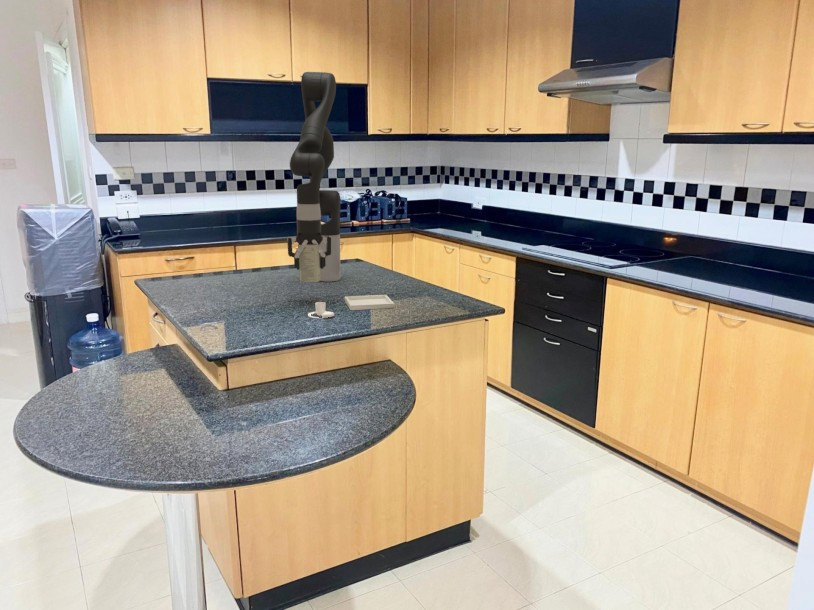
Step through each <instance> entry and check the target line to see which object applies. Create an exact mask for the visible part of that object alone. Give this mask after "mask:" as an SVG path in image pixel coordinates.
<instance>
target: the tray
mask: <svg viewBox="0 0 814 610" xmlns="http://www.w3.org/2000/svg"><path fill="white" fill-rule="evenodd" d="M344 302H345V304H346V305H347V307H348V309H349V310H350V311H361V310H362V311H363V310H366V311H367V310H382V309H383V310H384V309H387V310H388V309H395V303H394V302H393V300H392V299H391V298H390V297H389V296H388V295H387V294H371V295H351V296H344Z"/></svg>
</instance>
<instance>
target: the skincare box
mask: <svg viewBox="0 0 814 610" xmlns="http://www.w3.org/2000/svg"><path fill="white" fill-rule="evenodd" d="M300 246H301V245H299V244H298V243H297V248H298V249H299V248H300ZM319 246H320V244H319ZM301 249H302V248H301ZM298 258H299V270H298V271H299V272H298V273H299V274H298V275H299V281H300V282H306V283H307V282H310V283H318V282H321V281H320V280H321V279H322V278H321V255H320V253H319V251H318V245H317V244H316V245H314V244H308V245H305V247H304V249H303V251H302V252H301V253H300V255H299V256H298Z"/></svg>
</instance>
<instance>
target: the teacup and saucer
mask: <svg viewBox="0 0 814 610" xmlns="http://www.w3.org/2000/svg"><path fill="white" fill-rule="evenodd" d="M314 304H315V305H314V307H315V311H312V312H308V314H307V316H308V317H309V318H311V319H312V318H313V319H320V318H319V317H322V318H321V319H328V317H329V318H332V317H334V316H335V313H334V312H333V311H327V310H326V302H325V301H324V302H323V301H316V302H315V303H314ZM311 314H312V316H311ZM314 314H316V316H313V315H314Z"/></svg>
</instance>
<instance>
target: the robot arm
mask: <svg viewBox="0 0 814 610" xmlns="http://www.w3.org/2000/svg"><path fill="white" fill-rule="evenodd" d="M300 85H301V86H300V89H301V94H302V95H301V96H302V104H303V109H304V117H305V118H304V119H305V121H304V123H303V124H302V128H301V133H300V138H299V142H298V144H297V146H296V148H295V150H294V151H293V153H292V155H291V157H290V160H289V169H290V172H291V173H292V174H293V175H294V176H296V177H297V176H298V177H309V182H306V183H301V184H298V185H297V186H296V236H295V237H293V236H292V237H291V236H288V237H287V241H286V242H287V254H288V256H289V257H290V258H293V261H294V263H293V265H294V268H295V269H296V270H297V271H299V255H300V253H301V252H302V251H303V249H304V247H305V245H308V244H314V245H316V244H317V245H318V251H319V253H320V255H321V278H322V279H321V280H320V281H319V282H326V283H327V282H337V281H340V280H341V278H342V277H341V194H340V192H339V191H338V190H334V189H333V190H324V189H323V190H320V188H321V183H322V180H323V177H324V175H325V174H326V172H327V171H328V169H329V168H330V166H331V165H332V163H333V161H334V158H335V147H334V146H335V145H334V137H333V135H332V133H331V132H330V130H329V129H328V127H327V126H326V125H327V122H328V119H329V117H330V114H331V111H332V109H333V108H332V107H333V104H334V101H335V98H336V93H337V82H336V77H335V75H334V74H333V73H331V72H326V71H325V72H324V71H305V72H303V73H302V75H301V81H300ZM315 102H320V103H319V105H318V106H317V107H316V104H315ZM323 216H326V217H327V216H328V217H329V216H330V219H329V220H328V221H326V222H324V223H322V221H321V219H322V218H321V217H323ZM295 242H296V243H297V245H298V244H299V245H301V246H300V248H299V249H298V247H297V248H296V250H295V252H293V245H294V244H295ZM319 244H320V246H319ZM301 248H302V249H301Z"/></svg>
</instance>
